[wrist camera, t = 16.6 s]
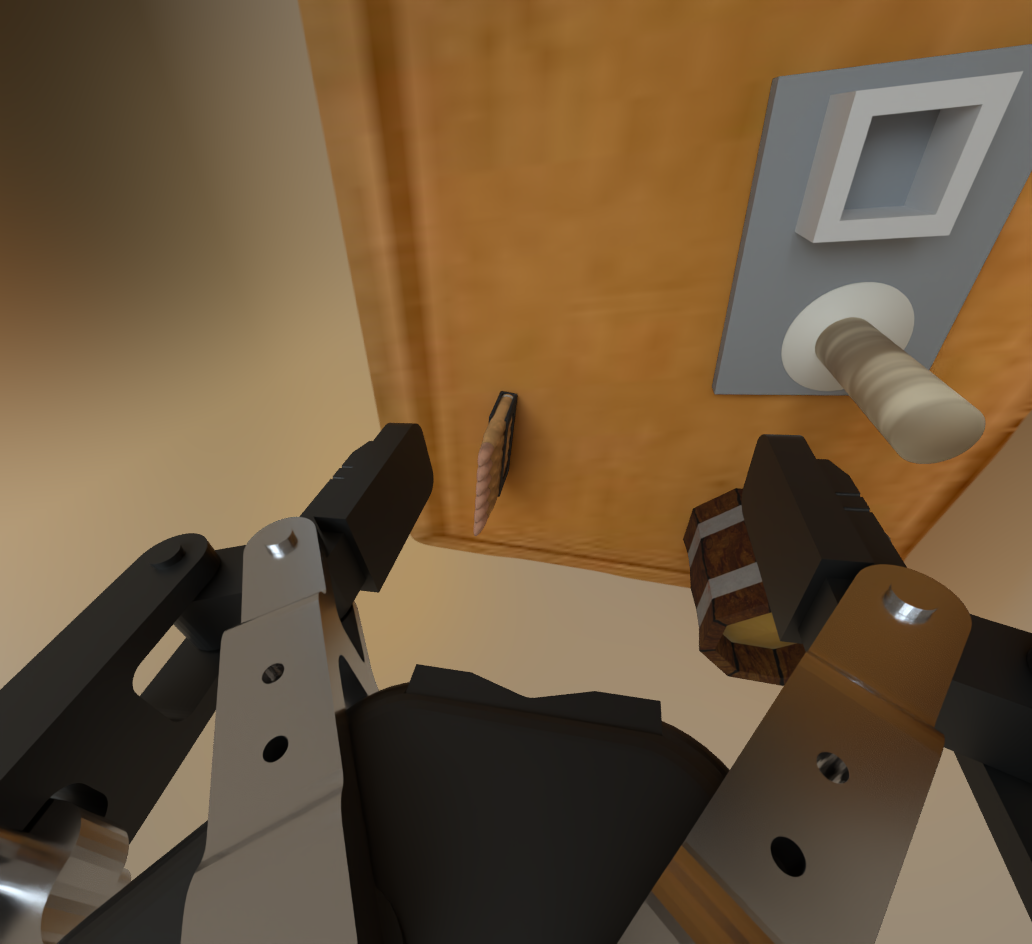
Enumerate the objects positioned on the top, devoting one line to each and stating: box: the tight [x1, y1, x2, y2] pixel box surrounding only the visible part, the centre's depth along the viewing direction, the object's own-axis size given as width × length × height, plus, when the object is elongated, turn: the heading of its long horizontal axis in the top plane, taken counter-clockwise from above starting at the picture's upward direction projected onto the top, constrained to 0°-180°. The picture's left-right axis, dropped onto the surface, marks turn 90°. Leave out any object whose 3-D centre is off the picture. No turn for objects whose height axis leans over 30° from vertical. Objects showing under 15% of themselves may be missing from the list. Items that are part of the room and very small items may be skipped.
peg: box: [815, 317, 985, 464], centre depth 30 cm, size 4×4×14 cm
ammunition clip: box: [474, 391, 518, 536], centre depth 45 cm, size 11×2×12 cm, turn 174°
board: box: [712, 44, 1032, 395], centre depth 31 cm, size 22×16×6 cm
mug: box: [683, 488, 891, 686], centre depth 44 cm, size 20×14×15 cm
